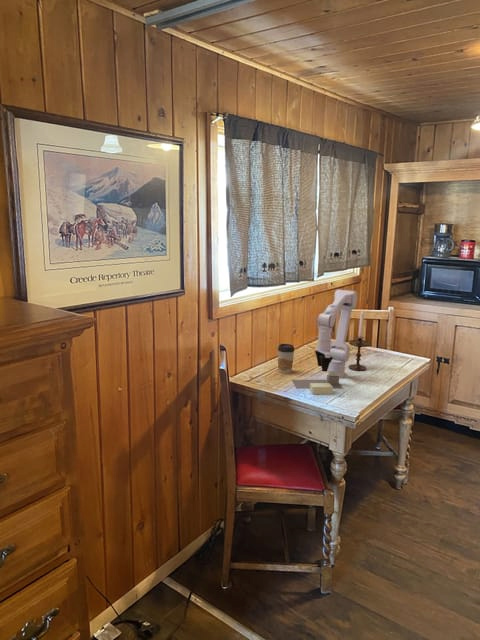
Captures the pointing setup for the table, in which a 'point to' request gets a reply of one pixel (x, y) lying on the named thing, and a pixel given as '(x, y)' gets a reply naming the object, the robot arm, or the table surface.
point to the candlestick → (359, 345)
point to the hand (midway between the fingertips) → (322, 368)
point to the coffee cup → (285, 358)
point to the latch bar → (336, 373)
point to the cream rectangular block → (321, 388)
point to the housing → (306, 383)
